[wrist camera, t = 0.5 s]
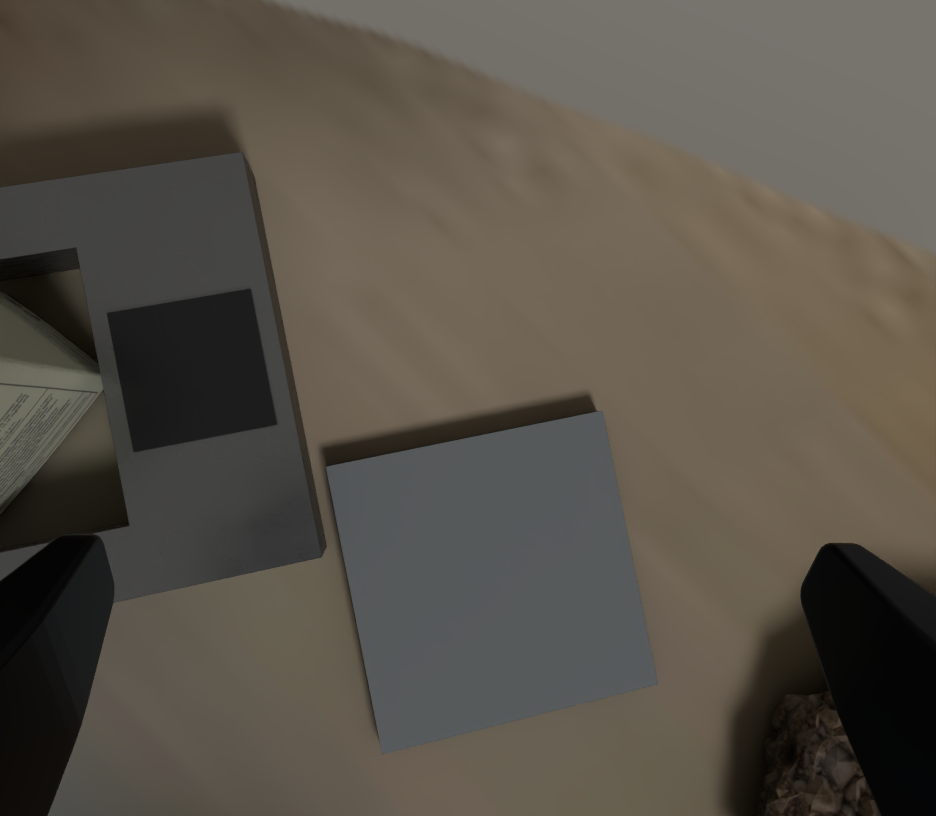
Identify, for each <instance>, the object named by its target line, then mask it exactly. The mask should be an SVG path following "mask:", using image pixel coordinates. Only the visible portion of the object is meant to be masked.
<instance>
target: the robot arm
mask: <svg viewBox="0 0 936 816" xmlns="http://www.w3.org/2000/svg"><path fill="white" fill-rule="evenodd" d="M114 592H115V587H114V580H113V576H112V572H111V568H110V565H109V561H108V557H107V553H106V550H105V546H104V543H103V540H102V539H101V538H100V537H99V536H98V535H95V534H63V535H61V536H58V537H57V538H55V539H54V540H52V541H51V542H50V543H48V544H47V545H46V546H45V547H43V548H42V549H41V550H39V551H38V552H37V553H35V554H34V555H33V556H32V557H30V558H29V559H28V560H26V561H25V562H24V563H22V564H21V565H20V566H18V567H17V568H16V569H15V570H13V571H12V572H11V573H9V574H8V575H7V576H5V577H4V578H3V579H2V580H0V816H48V813H49V811H50V808H51V805H52V803H53V800H54V797H55V795H56V792H57V790H58V787H59V784H60V782H61V779H62V776H63V774H64V771H65V769H66V766H67V763H68V761H69V758H70V755H71V753H72V750H73V747H74V745H75V742H76V739H77V736H78V733H79V730H80V728H81V725H82V721H83V717H84V714H85V710H86V707H87V703H88V699H89V695H90V691H91V687H92V684H93V680H94V676H95V672H96V668H97V664H98V660H99V656H100V652H101V648H102V644H103V641H104V637H105V633H106V629H107V625H108V621H109V617H110V613H111V609H112V605H113V601H114ZM800 597H801V603H802V607H803V610H804V613H805V616H806V619H807V623H808V626H809V629H810V632H811V635H812V638H813V641H814V644H815V648H816V651H817V654H818V657H819V660H820V663H821V666H822V669H823V673H824V676H825V679H826V682H827V685H828V688H829V691H830V694H831V697H832V700H833V703H834V706H835V709H836V711H837V714H838V716H839V719H840V721H841V724H842V726H843V729H844V731H845V734H846V736H847V738H848V740H849V743H850V745H851V747H852V750H853V752H854V754H855V757H856V759H857V761H858V764H859V766H860V768H861V770H862V773H863V775H864V777H865V780H866V782H867V784H868V787H869V789H870V791H871V793H872V796H873V798H874V800H875V803H876V805H877V807H878V810H879V812H880V814H881V816H936V596H935V595H933V594H932V593H930V592H929V591H927V590H926V589H924V588H923V587H921V586H920V585H918V584H917V583H915V582H914V581H912V580H911V579H909V578H908V577H906V576H905V575H904V574H902V573H901V572H899V571H898V570H896V569H895V568H893V567H892V566H890V565H889V564H887V563H886V562H884V561H883V560H881V559H880V558H878V557H877V556H875V555H874V554H872V553H871V552H870V551H868V550H867V549H865V548H864V547H862V546H860V545H858V544H854V543H828V544H825V545H824V546H823V547H821V549H820V550H819V552H818V554H817V556H816V558H815V560H814V562H813V563H812V565H811V567H810V569H809V571H808V573H807V575H806V577H805V579H804V581H803V583H802V586H801V594H800Z"/></svg>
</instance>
